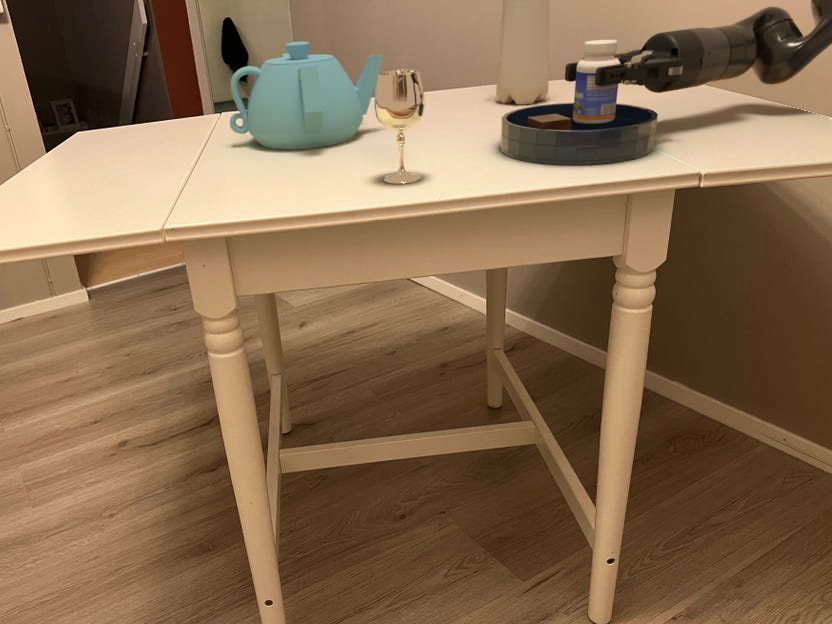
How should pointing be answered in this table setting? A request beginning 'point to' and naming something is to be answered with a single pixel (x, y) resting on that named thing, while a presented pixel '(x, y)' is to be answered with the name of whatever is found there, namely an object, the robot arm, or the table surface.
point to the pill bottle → (589, 98)
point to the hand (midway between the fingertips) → (582, 75)
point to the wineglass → (399, 110)
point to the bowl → (579, 136)
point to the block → (549, 122)
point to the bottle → (524, 52)
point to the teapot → (303, 100)
